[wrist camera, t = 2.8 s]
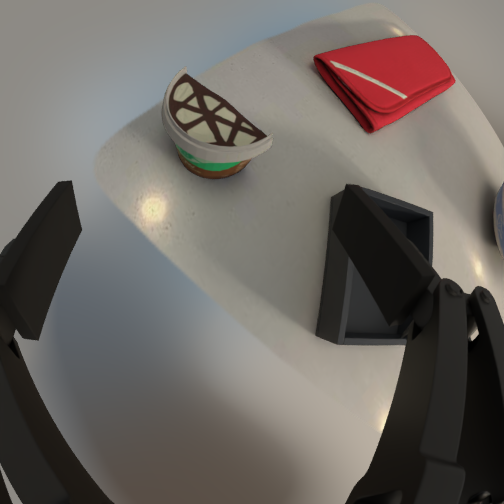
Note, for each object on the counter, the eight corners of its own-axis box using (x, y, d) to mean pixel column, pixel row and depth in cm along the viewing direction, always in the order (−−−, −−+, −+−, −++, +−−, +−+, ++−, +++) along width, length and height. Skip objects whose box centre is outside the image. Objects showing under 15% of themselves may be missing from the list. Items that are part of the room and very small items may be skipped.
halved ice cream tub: (146, 145, 31) (133, 99, 22) (182, 114, 33) (182, 63, 23) (219, 210, 32) (231, 181, 23) (253, 175, 34) (277, 136, 24)
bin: (315, 335, 33) (336, 344, 28) (331, 197, 36) (353, 184, 30) (397, 338, 36) (423, 344, 30) (407, 219, 38) (433, 212, 33)
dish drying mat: (452, 86, 47) (462, 79, 44) (369, 138, 38) (383, 128, 35) (412, 38, 47) (420, 30, 43) (305, 64, 37) (313, 50, 34)
